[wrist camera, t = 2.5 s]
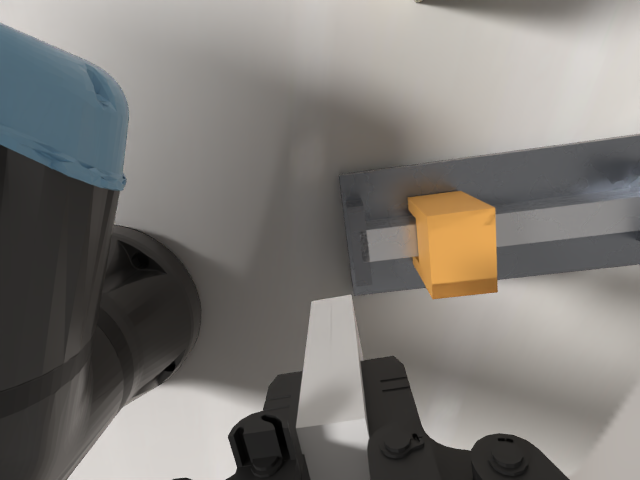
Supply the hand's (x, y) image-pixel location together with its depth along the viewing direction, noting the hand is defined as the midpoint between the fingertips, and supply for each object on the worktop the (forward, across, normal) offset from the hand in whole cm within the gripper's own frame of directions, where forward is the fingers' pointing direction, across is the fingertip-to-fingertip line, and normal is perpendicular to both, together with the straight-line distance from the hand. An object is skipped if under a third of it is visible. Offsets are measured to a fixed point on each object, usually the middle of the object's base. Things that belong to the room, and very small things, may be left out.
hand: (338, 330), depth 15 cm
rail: (+18, +13, -2) cm, 22 cm away
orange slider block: (+17, +8, -2) cm, 19 cm away
